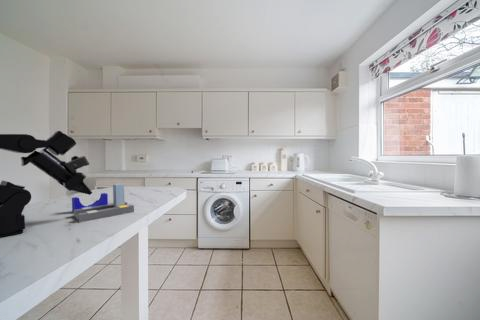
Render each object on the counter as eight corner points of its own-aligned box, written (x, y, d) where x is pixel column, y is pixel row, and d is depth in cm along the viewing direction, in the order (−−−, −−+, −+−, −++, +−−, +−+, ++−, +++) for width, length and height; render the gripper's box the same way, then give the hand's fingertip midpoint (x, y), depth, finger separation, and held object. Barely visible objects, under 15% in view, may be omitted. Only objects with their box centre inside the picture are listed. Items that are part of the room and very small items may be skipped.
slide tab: (116, 209, 86) (115, 185, 86) (113, 208, 89) (112, 184, 89) (124, 208, 89) (124, 184, 88) (121, 206, 91) (121, 183, 91)
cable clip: (103, 205, 99) (102, 192, 98) (107, 207, 96) (107, 193, 96) (71, 211, 89) (70, 197, 89) (75, 213, 86) (74, 198, 86)
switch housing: (79, 222, 75) (79, 214, 75) (73, 216, 82) (73, 209, 82) (134, 211, 88) (133, 205, 88) (125, 207, 95) (125, 201, 95)
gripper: (77, 148, 71) (115, 179, 79) (67, 148, 84) (101, 175, 92) (45, 174, 65) (90, 204, 74) (40, 170, 78) (78, 196, 87)
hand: (91, 193), depth 82 cm, fingers closed
